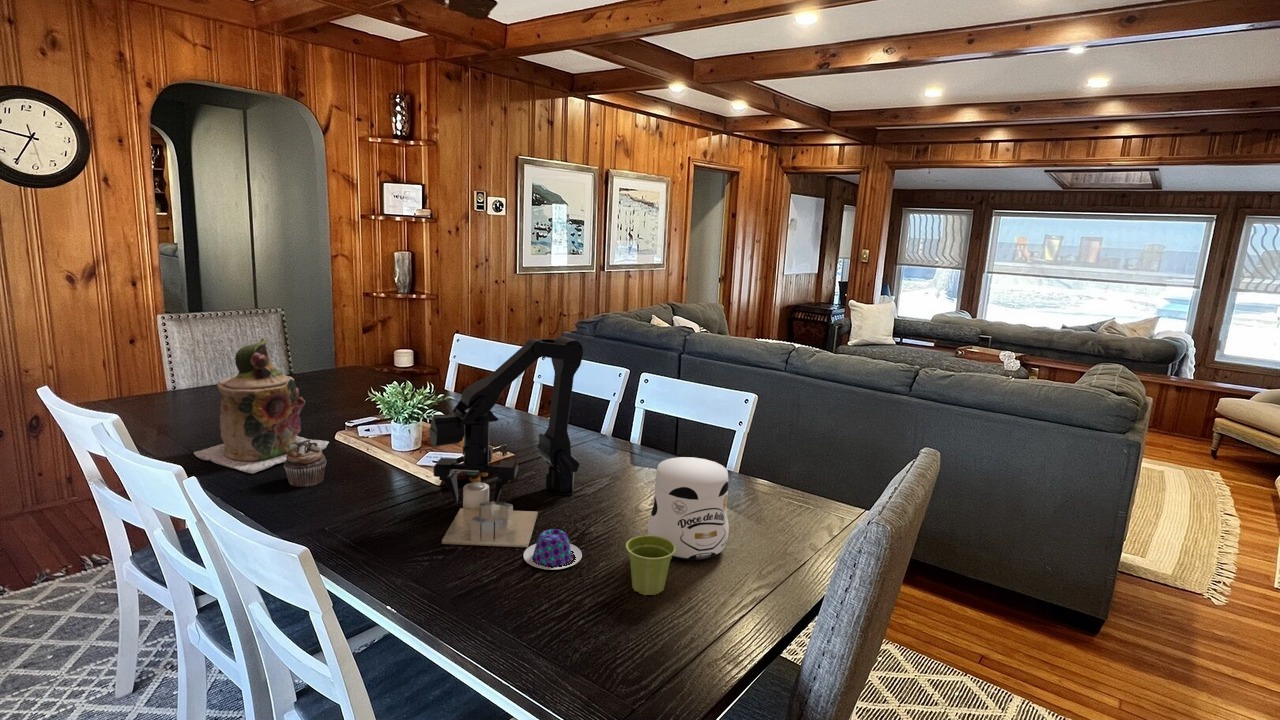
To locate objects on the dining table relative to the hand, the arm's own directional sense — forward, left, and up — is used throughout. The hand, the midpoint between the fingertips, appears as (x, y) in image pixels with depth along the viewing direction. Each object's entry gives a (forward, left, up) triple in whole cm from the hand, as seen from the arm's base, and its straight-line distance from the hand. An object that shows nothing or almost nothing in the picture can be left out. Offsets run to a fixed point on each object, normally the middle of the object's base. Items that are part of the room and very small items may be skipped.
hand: (476, 502), depth 159 cm
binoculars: (+6, -18, -1) cm, 19 cm away
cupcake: (+45, -11, -1) cm, 46 cm away
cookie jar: (+65, -29, -1) cm, 71 cm away
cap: (0, 0, -1) cm, 1 cm away
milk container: (-49, +16, -1) cm, 52 cm away
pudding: (-21, +22, -2) cm, 30 cm away
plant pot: (-40, +33, -1) cm, 52 cm away
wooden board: (-6, +11, -1) cm, 13 cm away
